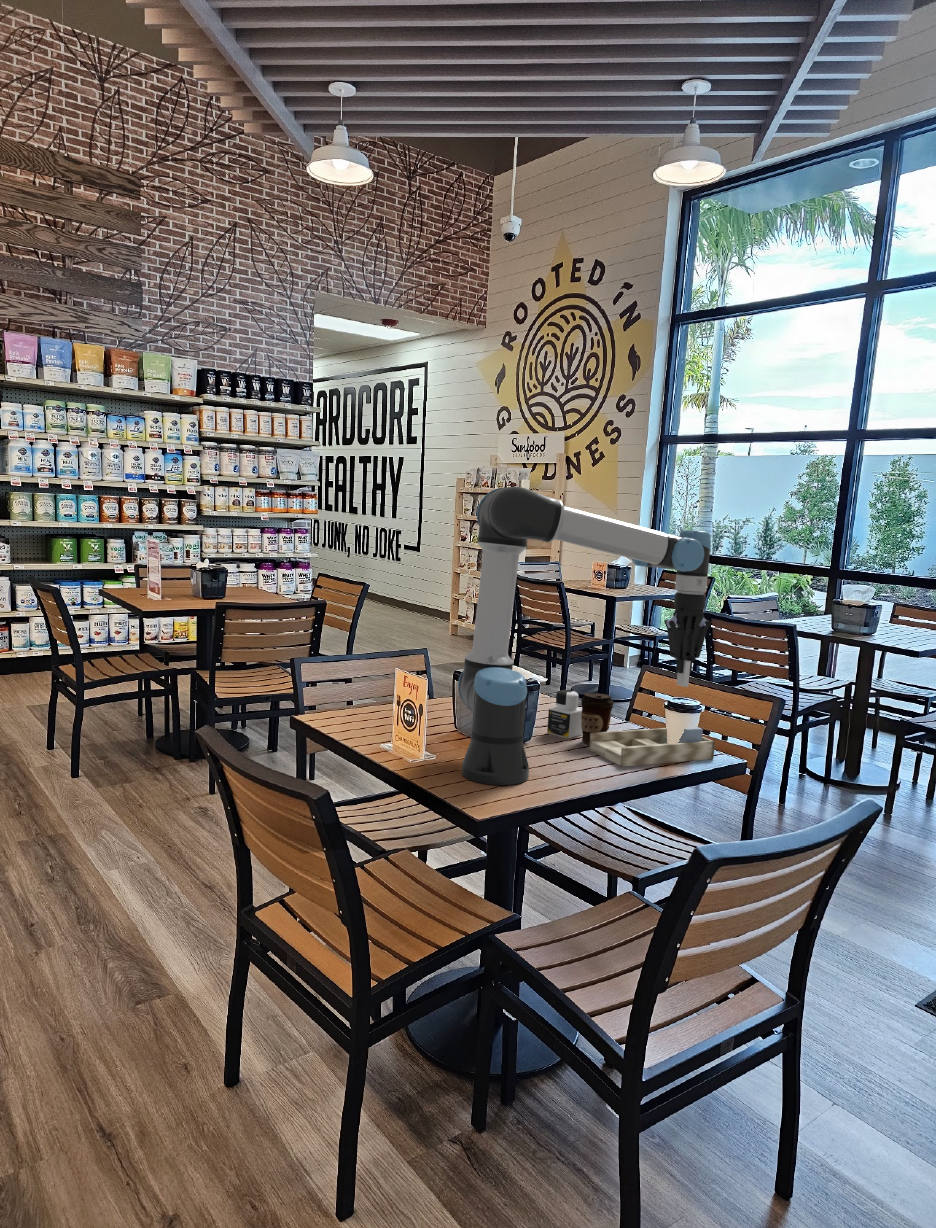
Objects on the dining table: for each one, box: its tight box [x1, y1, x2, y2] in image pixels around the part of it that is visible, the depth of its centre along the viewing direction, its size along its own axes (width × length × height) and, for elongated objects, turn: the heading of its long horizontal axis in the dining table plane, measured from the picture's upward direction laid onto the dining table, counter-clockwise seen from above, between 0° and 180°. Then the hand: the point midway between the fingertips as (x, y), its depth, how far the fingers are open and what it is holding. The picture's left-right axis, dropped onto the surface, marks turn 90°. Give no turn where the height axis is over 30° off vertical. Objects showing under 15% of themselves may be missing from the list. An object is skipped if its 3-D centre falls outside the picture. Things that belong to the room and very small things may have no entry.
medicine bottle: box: [546, 689, 583, 739], centre depth 218 cm, size 7×7×12 cm
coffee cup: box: [581, 692, 614, 745], centre depth 210 cm, size 9×8×13 cm
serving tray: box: [588, 727, 716, 768], centre depth 202 cm, size 28×14×4 cm, turn 114°
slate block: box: [678, 726, 704, 743], centre depth 203 cm, size 5×5×5 cm
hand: (682, 685), depth 200 cm, fingers closed
